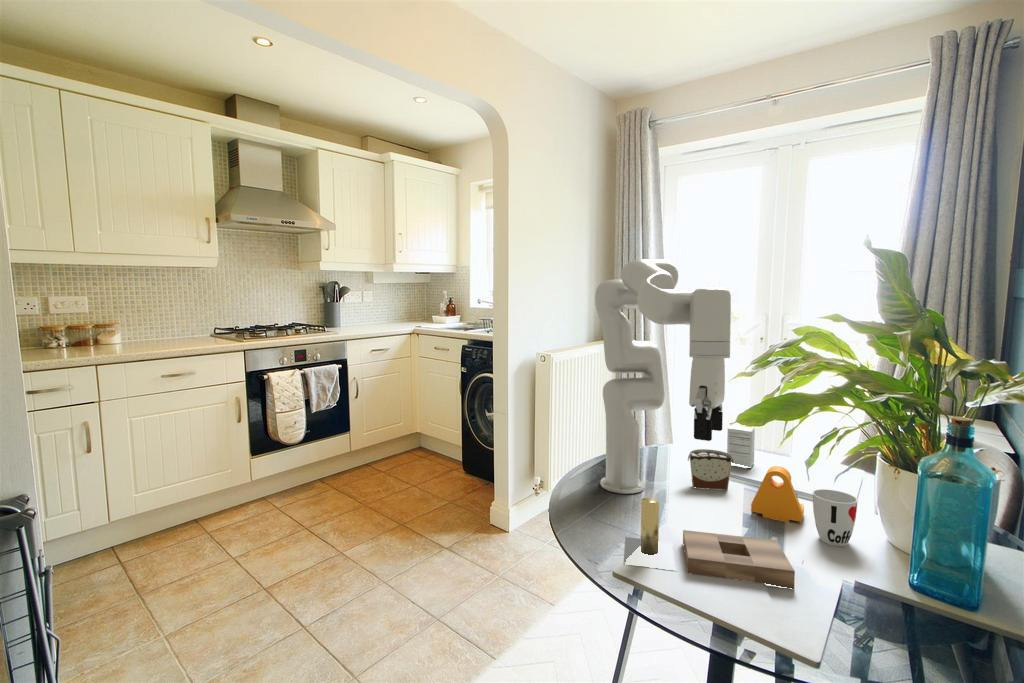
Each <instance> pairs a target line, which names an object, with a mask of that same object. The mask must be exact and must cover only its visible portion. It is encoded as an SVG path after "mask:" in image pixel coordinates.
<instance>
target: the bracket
mask: <svg viewBox="0 0 1024 683" xmlns="http://www.w3.org/2000/svg"><path fill="white" fill-rule="evenodd" d="M773 477H779V478H780V479H781V480H782V481H783V482H777V481H775V480H774V479H773ZM804 509H805V505H804V504H803V503H800V501H799V498H798V496H797V494H796V491H795V488H794V486H793V484H792V475H791V473H790V472H789V471H788V469H786V468H785V467H783V466H779V465H774V466H773V465H772V466H771V467H769V468H768V470H767V471H766V474H765V475H764V477H763V479H762V481H761V484H760V485H759V487H758V489H757V491H756V493H755V496H754V497H753V499H752V502H751V503H750V512H754V513H757V514H761V515H762V518H766V519H770V520H771V519H772V520H775V521H779V522H785V523H790V521H796V522H799V523H802V522H803V517H804V513H805V510H804Z"/></svg>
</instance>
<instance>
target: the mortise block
mask: <svg viewBox="0 0 1024 683" xmlns="http://www.w3.org/2000/svg"><path fill="white" fill-rule="evenodd" d="M683 544H684V547H683V551H684V550H685V553H684V557H685V556H686V558H685V563H686V562H687V564H686V569H687V568H688V570H687V573H688V574H689V573H692V575H697V576H705V577H711V576H714V577H713V578H719V577H721V578H720V579H727V578H729V580H734V579H737V580H736V581H742V580H745V581H744V582H749V581H751V582H750V583H759V584H764V583H766V584H771V585H776V586H781V587H787V588H792V589H794V590H795V580H796V578H795V574H796V571H795V569H794V567H793V565H792V564H791V562H790V561H789V559H788V557H787V556H786V554H785V552H784V551H783V549H782V548H781V545H780V544H779V542H778V541H777V539H770V538H769V539H768V538H760V537H759V538H758V537H751V536H750V537H749V536H743V535H742V536H741V535H733V534H731V535H729V534H722V533H711V532H704V531H703V532H702V531H694V530H687V529H685V530H684V529H682V545H683Z"/></svg>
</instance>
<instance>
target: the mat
mask: <svg viewBox="0 0 1024 683" xmlns="http://www.w3.org/2000/svg"><path fill="white" fill-rule="evenodd" d="M624 539H625V542H624V555H623V556H624V557H623V563H624V562H626V559H627V558H628V557H629V556H630V555H632V553H633V552H634V551H635V550H636V549H637V548H638V547H639V546H641V538H638V537H629V536H625V538H624Z"/></svg>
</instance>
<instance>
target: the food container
mask: <svg viewBox="0 0 1024 683" xmlns="http://www.w3.org/2000/svg"><path fill="white" fill-rule="evenodd" d="M687 461H688V462H690V472H691V473H690V474H691V482H692V483H691V484H692V488H693V487H696V488H709V489H708V490H713V489H722V490H721V491H729V490H728V489H729V484H730V483H729V482H730V475H731V470H732V466H731V462H733V463H734V461H733V458H732V455H730V454H728V453H727V452H726V451H723V450H717V449H716V450H715V449H707V448H706V449H705V448H704V449H703V448H702V449H700V448H699V449H693V450H691V451H690V452H689V453H688V457H687Z"/></svg>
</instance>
